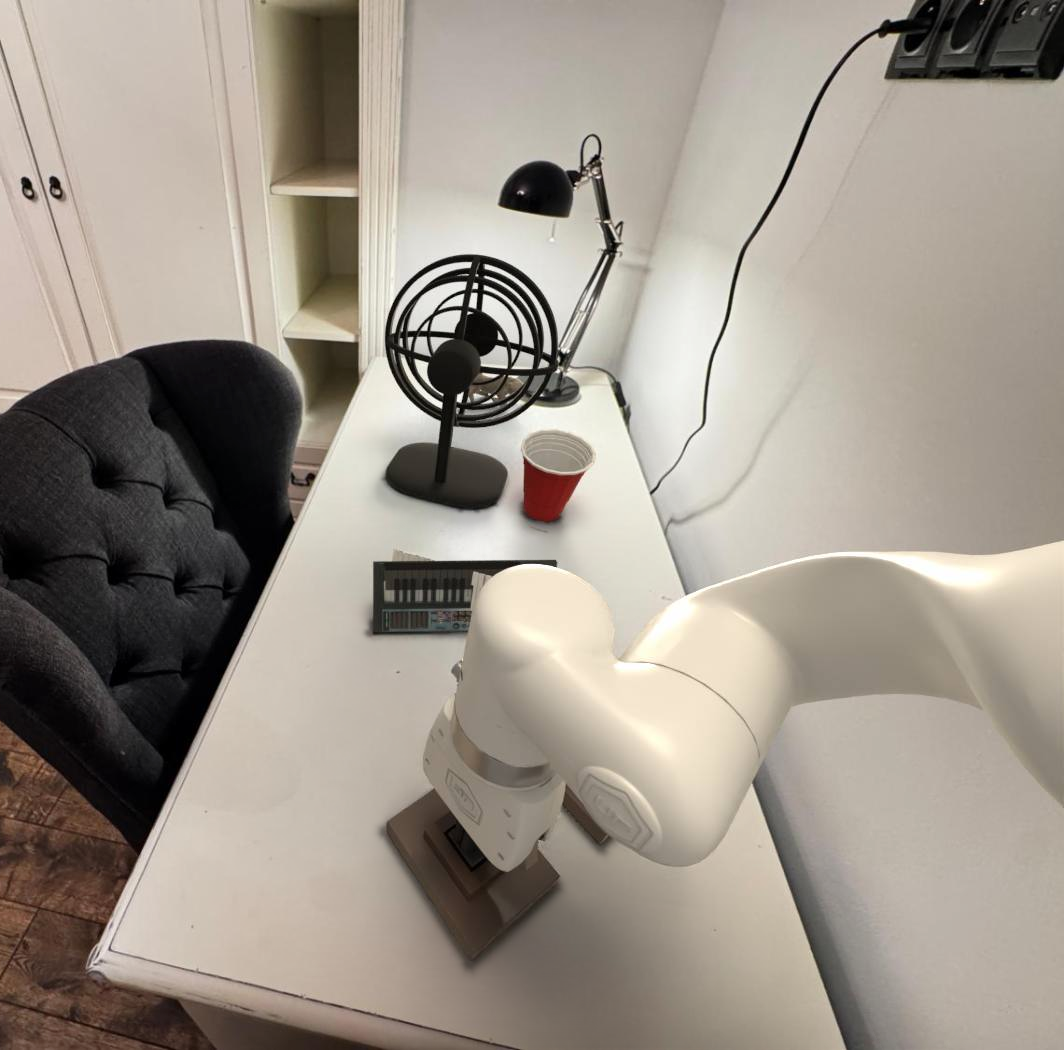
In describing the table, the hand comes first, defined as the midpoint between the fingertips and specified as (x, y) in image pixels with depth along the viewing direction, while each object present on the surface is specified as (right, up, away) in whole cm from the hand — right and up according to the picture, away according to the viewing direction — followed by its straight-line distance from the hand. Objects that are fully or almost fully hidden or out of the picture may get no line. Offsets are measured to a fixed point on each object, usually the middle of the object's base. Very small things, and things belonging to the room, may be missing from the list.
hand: (472, 836), depth 50 cm
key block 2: (+13, +2, +9) cm, 17 cm away
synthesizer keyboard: (+3, +15, +24) cm, 29 cm away
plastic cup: (+19, +29, +42) cm, 54 cm away
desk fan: (+5, +36, +49) cm, 61 cm away
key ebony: (0, -1, +1) cm, 2 cm away
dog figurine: (+18, +53, +70) cm, 89 cm away
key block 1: (0, -3, +3) cm, 4 cm away
